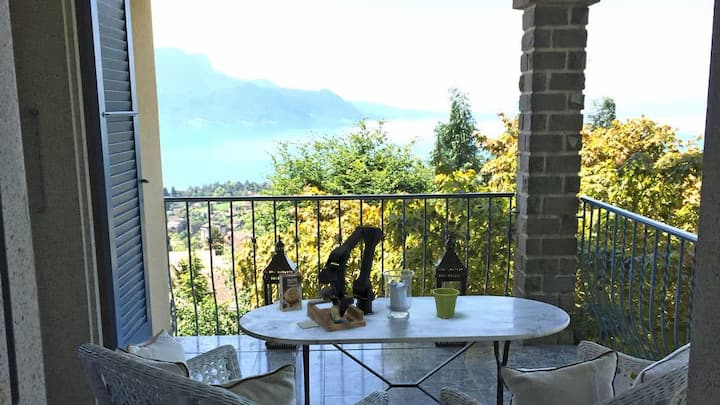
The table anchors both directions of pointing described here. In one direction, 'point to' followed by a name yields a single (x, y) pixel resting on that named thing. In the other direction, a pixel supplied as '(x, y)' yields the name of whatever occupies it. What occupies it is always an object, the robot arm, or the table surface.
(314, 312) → the puzzle board
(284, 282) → the coffee box
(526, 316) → the table surface
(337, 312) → the beech block
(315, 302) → the latch bar
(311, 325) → the slate mat
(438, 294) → the plant pot
